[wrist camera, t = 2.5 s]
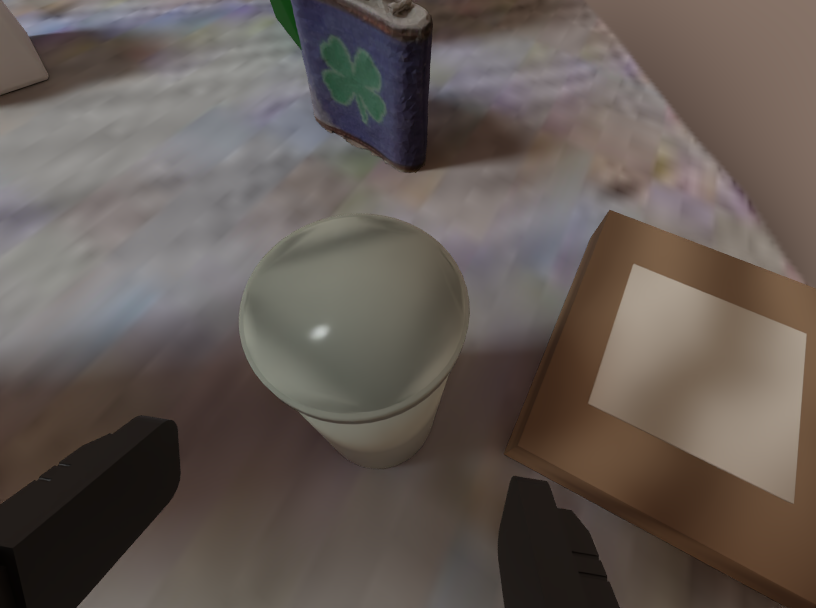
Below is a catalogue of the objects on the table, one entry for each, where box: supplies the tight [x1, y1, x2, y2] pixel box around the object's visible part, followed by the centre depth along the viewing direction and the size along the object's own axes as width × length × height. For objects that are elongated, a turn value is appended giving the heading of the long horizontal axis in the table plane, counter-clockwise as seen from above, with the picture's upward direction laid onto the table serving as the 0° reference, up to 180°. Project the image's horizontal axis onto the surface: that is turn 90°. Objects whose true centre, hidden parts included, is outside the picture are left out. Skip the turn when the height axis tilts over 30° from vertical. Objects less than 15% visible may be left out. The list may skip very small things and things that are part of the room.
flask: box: [291, 0, 433, 173], centre depth 23 cm, size 9×3×11 cm, turn 53°
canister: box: [239, 214, 470, 469], centre depth 14 cm, size 5×5×11 cm
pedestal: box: [504, 210, 816, 608], centre depth 19 cm, size 12×14×3 cm
